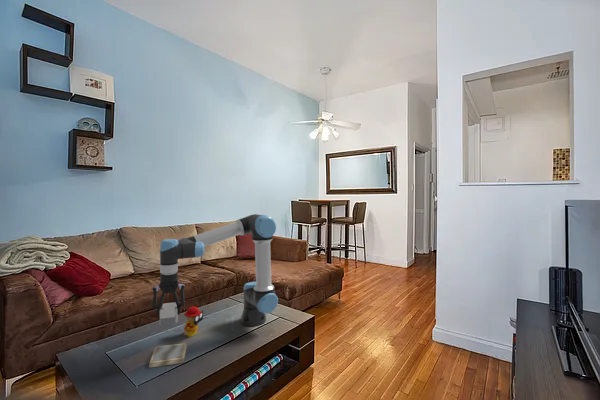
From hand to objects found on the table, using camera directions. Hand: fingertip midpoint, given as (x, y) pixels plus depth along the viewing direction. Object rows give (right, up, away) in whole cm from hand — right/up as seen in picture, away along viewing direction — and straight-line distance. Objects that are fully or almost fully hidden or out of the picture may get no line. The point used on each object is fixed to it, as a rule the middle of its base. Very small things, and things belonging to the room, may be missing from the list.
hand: (168, 322), depth 134 cm
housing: (0, 0, 0) cm, 0 cm away
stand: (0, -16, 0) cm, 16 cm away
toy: (+3, -16, +22) cm, 27 cm away
